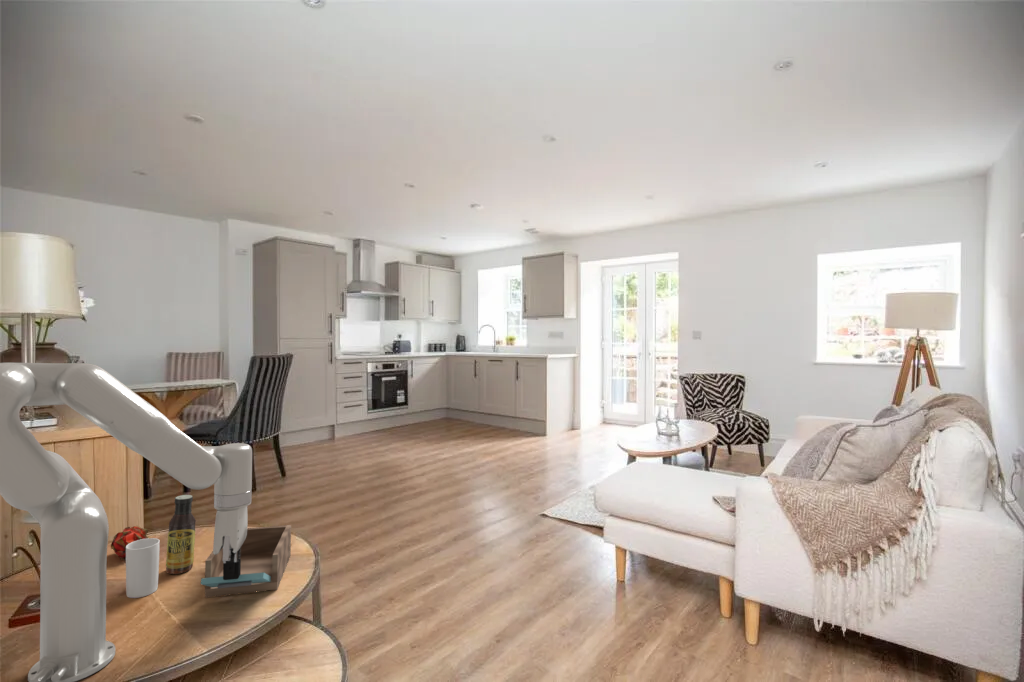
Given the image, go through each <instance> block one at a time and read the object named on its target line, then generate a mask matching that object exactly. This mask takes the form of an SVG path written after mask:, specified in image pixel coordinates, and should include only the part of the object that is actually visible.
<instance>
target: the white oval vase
mask: <svg viewBox="0 0 1024 682" xmlns="http://www.w3.org/2000/svg"><path fill="white" fill-rule="evenodd" d="M159 569H160V539H159V538H155V537H149V538H146V539H141V540H137V541H134V542H131V543H129V544H128V545H127V546H126V559H125V588H126V589H125V593H126V597H127V598H129V599H137V598H144V597H146V596H149V595H151V594H153V593H155V592H157V590H158V588H159V587H158V586H159V572H160V571H159Z"/></svg>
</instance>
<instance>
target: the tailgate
mask: <svg viewBox="0 0 1024 682" xmlns="http://www.w3.org/2000/svg"><path fill="white" fill-rule="evenodd" d="M270 581H271V576H269V575H267V574H266V573H264V572H263V573H253V574H242V575H240V576H239V578H238V579H231V580H223V576H221V577H210V578H205V577H202V578H200V585H203V586H204V587H205V586H209V587H218V588H228V587H238V586H248V585H251V584H252V583H262V582H270Z"/></svg>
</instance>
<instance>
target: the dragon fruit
mask: <svg viewBox="0 0 1024 682" xmlns="http://www.w3.org/2000/svg"><path fill="white" fill-rule="evenodd" d="M148 531H149V530H148V529H147V528H143V527H141V526H140V525H134V526H127V527H124V529H123V530H122V531H120V532H118V533H116V534H115V535H114V536H113V539H112V542H111V544H110V549H111V550H113V552H114V554H115V555H116V556H118V558H119V559H120V560H122V561H126V546H127V545H128V544H129V543H131V542H134V541H137V540H141V539H146V538H150V537H148V536H147V533H148Z"/></svg>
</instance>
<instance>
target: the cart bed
mask: <svg viewBox="0 0 1024 682" xmlns="http://www.w3.org/2000/svg"><path fill="white" fill-rule="evenodd" d="M291 542H292V524H287V525H286V524H285V525H274V526H260V527H259V526H257V527H247V536H246V539H245V541H244V543H243V544H242V546H241V556H240V558H238V559H241V574H240V575H242V574H253V573H263V572H264V573H266V574H267V575H269V576H271V581H270V582H262V583H252V584H251V585H248V586H238V587H228V588H218V587H209V586H205V585H204V598H205V597H206V598H213V597H212V596H215V597H221V595H225V596H230V595H229V594H235V595H239V594H238V593H244V594H249V593H248V592H254V593H259V592H258V591H264V592H266V591H265V590H273V591H278V589H279V586H280V584H281V582H280V581H282V579H283V576H284V574H285V571H286V568H287V567H288V566H287V565H288V564H289V561H290V559H289V558H291V553H292V552H291V551H292V548H291V547H292V545H291V544H292V543H291ZM222 560H223V548H222V549H221V551H220V552H219V553H218V554H217V555H214V553H213V550H212V551H211V553H210V554H209V556H207V558H206V559H205V561H204V562H205V565H204V569H205V571H204V574H205V575H204V578H210V577H221V576H223V561H222ZM287 563H288V564H287ZM283 573H284V574H283ZM256 591H257V592H256Z"/></svg>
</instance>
